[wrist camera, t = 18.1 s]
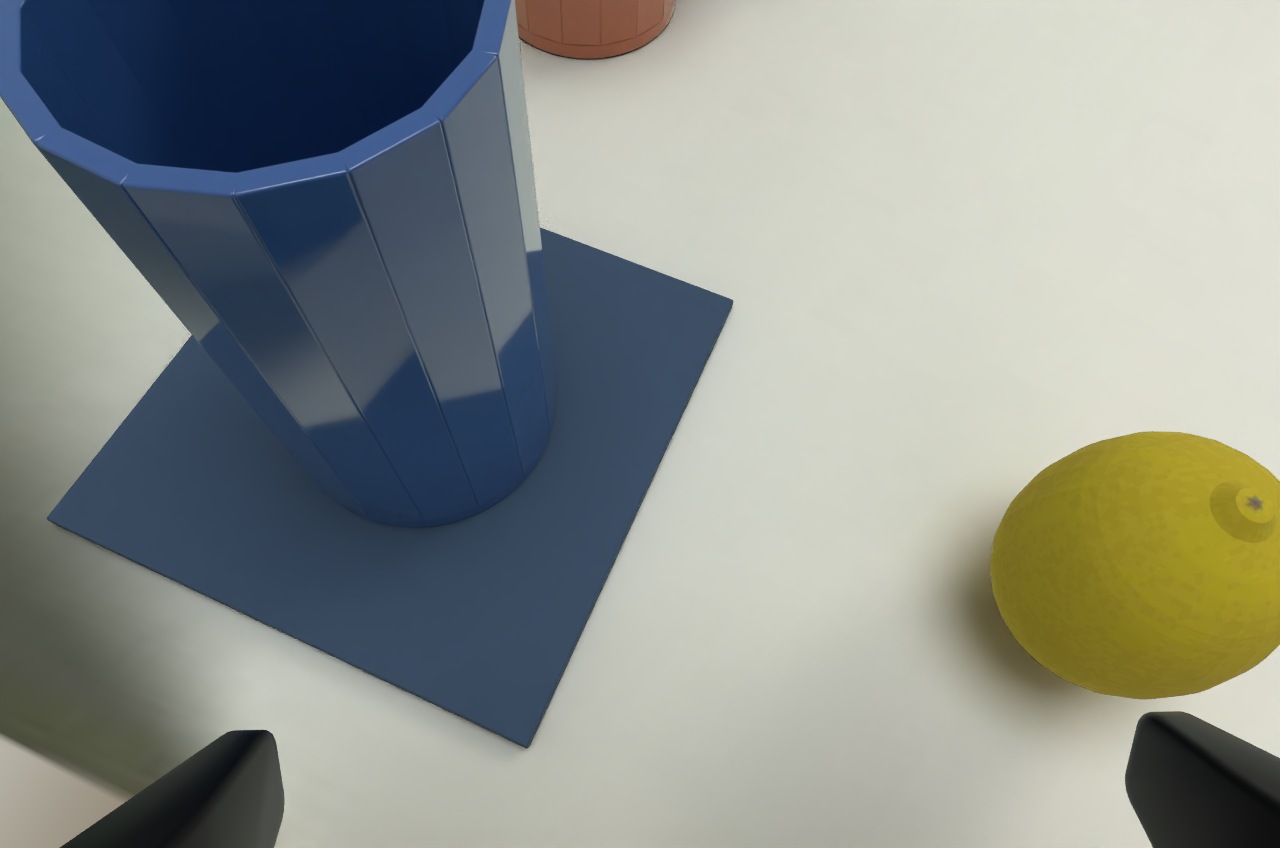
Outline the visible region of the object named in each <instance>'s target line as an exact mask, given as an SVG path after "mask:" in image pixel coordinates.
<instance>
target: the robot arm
mask: <svg viewBox="0 0 1280 848" xmlns="http://www.w3.org/2000/svg"><path fill="white" fill-rule="evenodd" d="M1125 785H1126V791H1127V794H1128V797H1129V800H1130V802H1131V804H1132V806H1133V808H1134V810H1135V812H1136V814H1137V816H1138V818H1139V820H1140V822H1141V824H1142V826H1143V828H1144V830H1145V832H1146V834H1147V836H1148V838H1149V840H1150V842H1151V844H1152V846H1153V848H1280V758H1278V757H1276V756H1274V755H1272V754H1270V753H1268V752H1266V751H1264V750H1262V749H1260V748H1258V747H1256V746H1254V745H1252V744H1250V743H1248V742H1246V741H1244V740H1242V739H1240V738H1238V737H1236V736H1234V735H1232V734H1230V733H1227V732H1225V731H1223V730H1221V729H1219V728H1217V727H1215V726H1213V725H1211V724H1209V723H1207V722H1205V721H1203V720H1201V719H1199V718H1197V717H1195V716H1193V715H1191V714H1188V713H1185V712H1149V713H1146V714H1144V715H1143V716H1142V717H1141V718H1140V719H1139V721H1138V724H1137V727H1136V731H1135V736H1134V740H1133V744H1132V748H1131V752H1130V757H1129V761H1128V765H1127V769H1126V774H1125ZM283 812H284V790H283V784H282V777H281V771H280V765H279V758H278V752H277V745H276V741H275V738H274V736H273V734H272V733H270V732H269V731H267V730H236V731H230V732H227V733H226V734H224V735H222V736H221V737H219V738H218V739H216V740H215V741H213V742H212V743H210V744H209V745H208V746H206V747H205V748H203V749H202V750H200V751H199V752H197V753H196V754H195V755H193V756H192V757H190V758H189V759H187V760H186V761H184V762H183V763H182V764H180V765H179V766H177V767H176V768H174V769H173V770H171V771H170V772H169V773H167V774H166V775H164V776H163V777H161V778H160V779H158V780H157V781H156V782H154V783H153V784H151V785H150V786H148V787H147V788H145V789H144V790H143V791H141V792H140V793H138V794H137V795H135V796H134V797H132V798H131V799H129V800H128V801H127V802H125V803H124V804H122V805H121V806H119V807H118V808H117V809H115V810H114V811H112V812H111V813H109V814H108V815H106V816H105V817H103V818H102V819H101V820H99V821H98V822H96V823H95V824H93V825H92V826H90V827H89V828H88V829H86V830H85V831H83V832H82V833H80V834H79V835H77V836H76V837H75V838H73V839H72V840H70V841H69V842H67V843H66V844H64V845H63V846H62V847H60V848H274V846H275V842H276V839H277V835H278V832H279V829H280V825H281V822H282V818H283Z"/></svg>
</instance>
